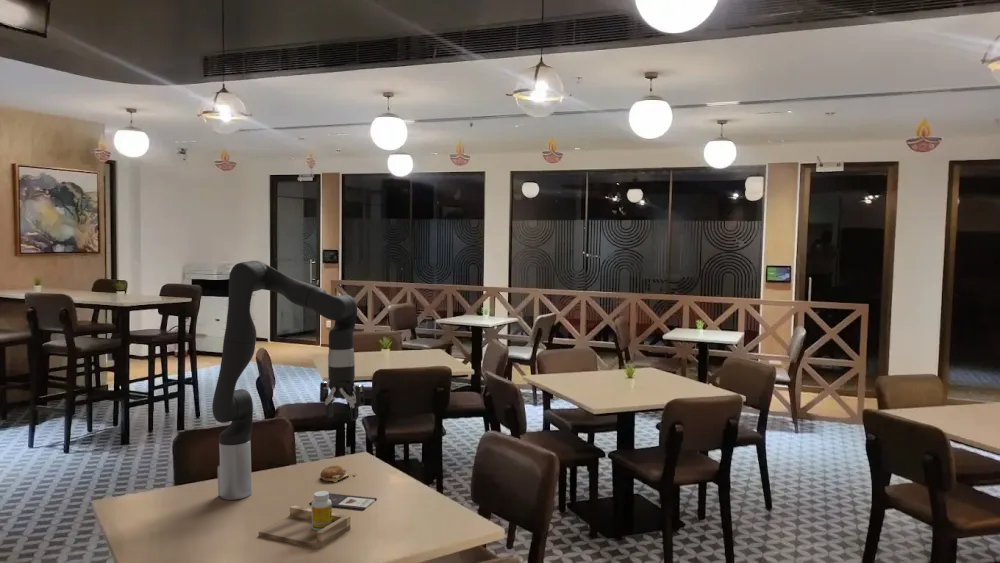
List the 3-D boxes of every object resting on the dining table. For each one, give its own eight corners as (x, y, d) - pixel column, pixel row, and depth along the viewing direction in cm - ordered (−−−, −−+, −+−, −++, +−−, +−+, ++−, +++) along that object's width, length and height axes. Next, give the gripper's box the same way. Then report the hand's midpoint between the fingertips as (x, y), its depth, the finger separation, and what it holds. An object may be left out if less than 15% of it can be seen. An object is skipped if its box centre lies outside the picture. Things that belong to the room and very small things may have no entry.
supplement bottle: (310, 525, 195) (309, 491, 194) (329, 522, 197) (329, 488, 196) (314, 532, 190) (313, 498, 189) (333, 529, 192) (333, 494, 192)
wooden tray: (258, 536, 191) (258, 523, 191) (293, 517, 204) (293, 505, 203) (317, 549, 183) (317, 535, 182) (350, 528, 195) (350, 516, 195)
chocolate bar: (324, 492, 222) (376, 498, 217) (324, 495, 222) (376, 501, 217) (309, 503, 213) (363, 508, 209) (309, 506, 214) (363, 511, 209)
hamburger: (341, 488, 229) (341, 470, 229) (309, 481, 236) (308, 464, 235) (368, 475, 241) (368, 458, 241) (337, 469, 248) (336, 452, 248)
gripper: (313, 364, 204) (314, 419, 205) (353, 367, 198) (354, 424, 199) (329, 360, 211) (330, 413, 212) (369, 363, 205) (370, 418, 206)
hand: (342, 418), depth 206 cm, fingers open, 8 cm apart
